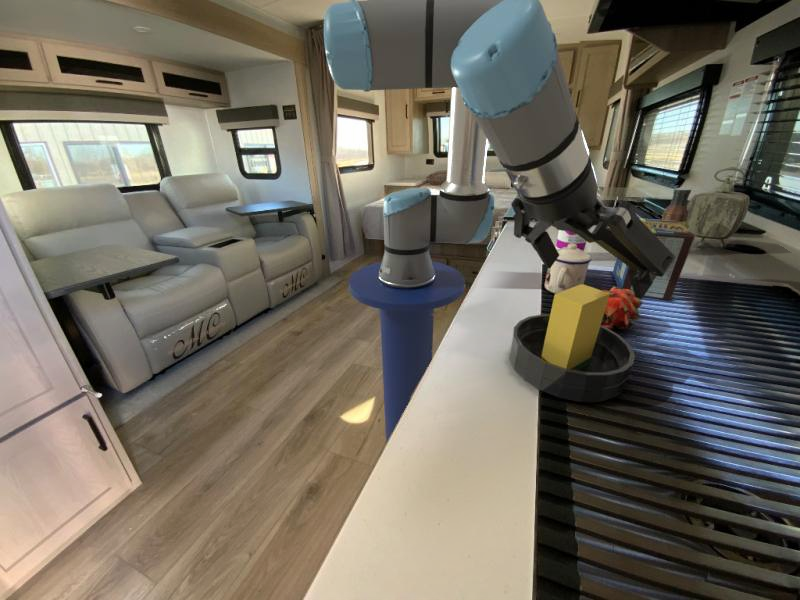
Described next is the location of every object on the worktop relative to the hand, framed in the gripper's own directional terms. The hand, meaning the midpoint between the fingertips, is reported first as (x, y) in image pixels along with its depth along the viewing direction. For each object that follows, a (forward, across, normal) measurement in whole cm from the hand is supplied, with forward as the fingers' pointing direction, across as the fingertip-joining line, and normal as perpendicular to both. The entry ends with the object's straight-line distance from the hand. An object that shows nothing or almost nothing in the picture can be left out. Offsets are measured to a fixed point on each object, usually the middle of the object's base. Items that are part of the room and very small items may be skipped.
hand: (593, 274), depth 49 cm
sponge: (+10, 0, -12) cm, 16 cm away
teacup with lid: (+30, -18, +6) cm, 35 cm away
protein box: (+43, -9, +20) cm, 48 cm away
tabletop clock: (+81, -14, +57) cm, 100 cm away
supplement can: (+48, -33, +24) cm, 63 cm away
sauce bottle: (+68, -18, +44) cm, 83 cm away
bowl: (+10, 0, -13) cm, 16 cm away
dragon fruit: (+24, -3, +1) cm, 25 cm away
